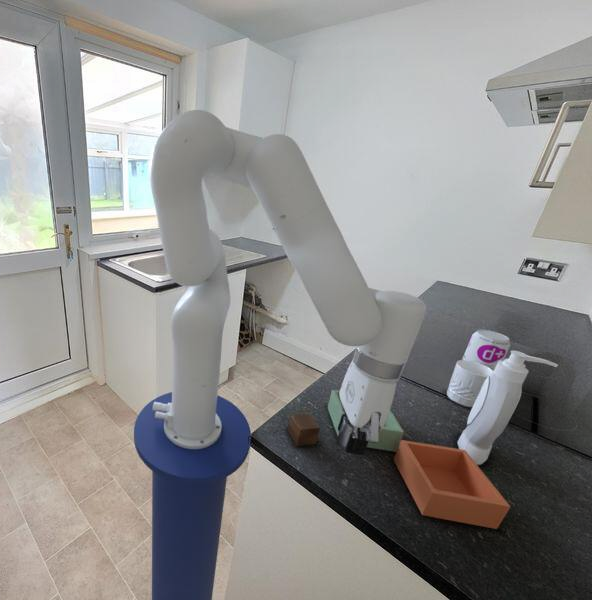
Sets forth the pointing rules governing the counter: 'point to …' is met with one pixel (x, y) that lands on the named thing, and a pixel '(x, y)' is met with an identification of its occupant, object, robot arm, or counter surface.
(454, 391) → the white cup
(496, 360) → the supplement can
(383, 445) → the left bin
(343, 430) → the steel cylinder
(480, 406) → the soap bottle
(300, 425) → the walnut block
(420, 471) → the right bin
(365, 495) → the counter surface
